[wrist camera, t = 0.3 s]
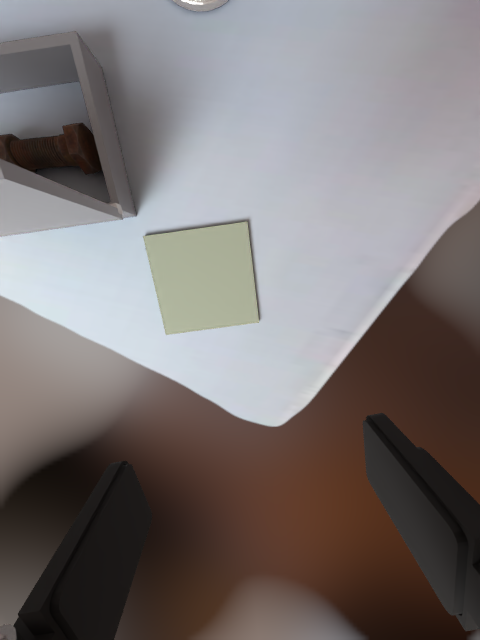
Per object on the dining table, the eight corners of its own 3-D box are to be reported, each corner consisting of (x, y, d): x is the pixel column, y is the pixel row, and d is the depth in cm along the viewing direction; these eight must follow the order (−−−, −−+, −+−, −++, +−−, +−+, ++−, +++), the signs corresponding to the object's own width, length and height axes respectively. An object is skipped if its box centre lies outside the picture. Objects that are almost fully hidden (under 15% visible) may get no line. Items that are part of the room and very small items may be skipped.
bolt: (8, 164, 34) (106, 154, 34) (1, 192, 33) (103, 182, 32) (-40, 121, 28) (77, 109, 28) (-51, 153, 27) (72, 141, 27)
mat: (144, 236, 35) (143, 236, 35) (247, 222, 35) (247, 221, 34) (167, 333, 40) (166, 334, 39) (258, 321, 39) (259, 322, 39)
